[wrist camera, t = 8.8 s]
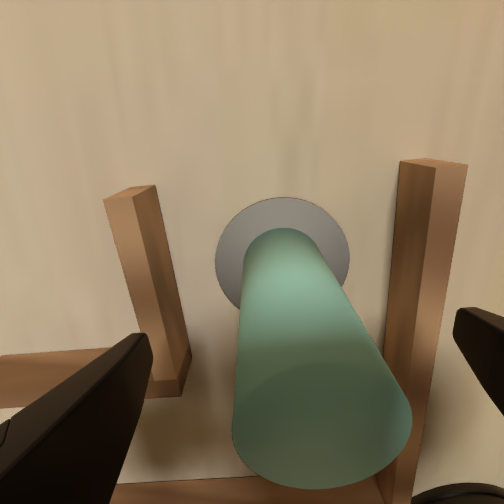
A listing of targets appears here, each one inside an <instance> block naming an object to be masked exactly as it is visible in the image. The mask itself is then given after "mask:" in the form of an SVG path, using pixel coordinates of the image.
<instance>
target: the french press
mask: <svg viewBox="0 0 504 504" xmlns="http://www.w3.org/2000/svg"><path fill="white" fill-rule="evenodd" d="M411 504H504V489H503V488H500V487H497V486H494V485H487V484H481V483H463V484H453V485H448V486H443V487H439V488H436V489H433V490H430V491H427V492H424V493H422V494H420V495H418V496H416V497H414V498H412V499H411Z"/></svg>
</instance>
